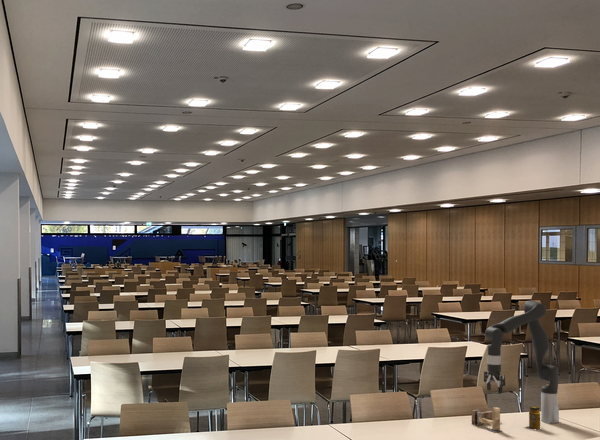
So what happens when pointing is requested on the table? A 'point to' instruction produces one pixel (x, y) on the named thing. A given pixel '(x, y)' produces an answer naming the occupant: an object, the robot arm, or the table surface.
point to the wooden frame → (494, 422)
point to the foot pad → (494, 430)
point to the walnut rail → (484, 415)
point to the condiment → (534, 418)
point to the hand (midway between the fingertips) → (494, 391)
